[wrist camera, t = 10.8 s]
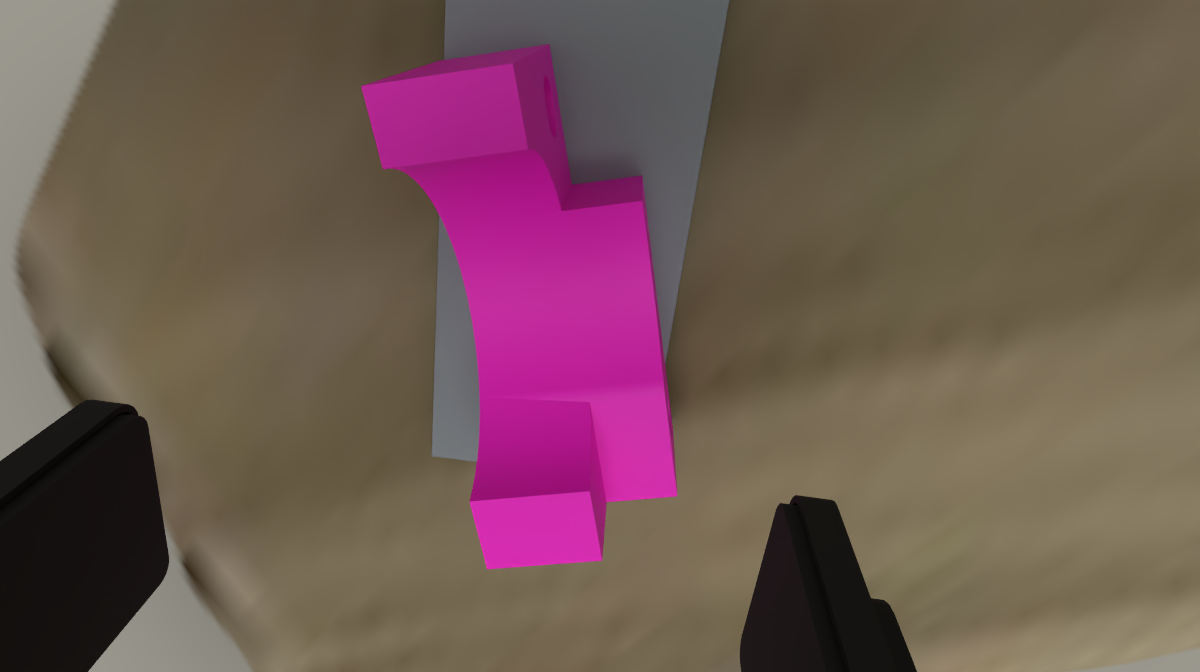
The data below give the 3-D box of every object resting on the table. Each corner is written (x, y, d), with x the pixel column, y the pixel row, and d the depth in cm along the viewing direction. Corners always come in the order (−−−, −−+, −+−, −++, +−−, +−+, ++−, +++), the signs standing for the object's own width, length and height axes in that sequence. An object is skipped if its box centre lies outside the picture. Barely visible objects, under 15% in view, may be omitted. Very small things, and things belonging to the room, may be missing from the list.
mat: (748, -119, 23) (750, -122, 22) (644, 475, 32) (644, 483, 31) (455, -158, 23) (450, -161, 22) (435, 448, 32) (431, 455, 31)
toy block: (672, 428, 30) (681, 554, 23) (521, 442, 31) (487, 569, 24) (625, 32, 24) (617, 47, 17) (438, 60, 25) (360, 86, 18)
